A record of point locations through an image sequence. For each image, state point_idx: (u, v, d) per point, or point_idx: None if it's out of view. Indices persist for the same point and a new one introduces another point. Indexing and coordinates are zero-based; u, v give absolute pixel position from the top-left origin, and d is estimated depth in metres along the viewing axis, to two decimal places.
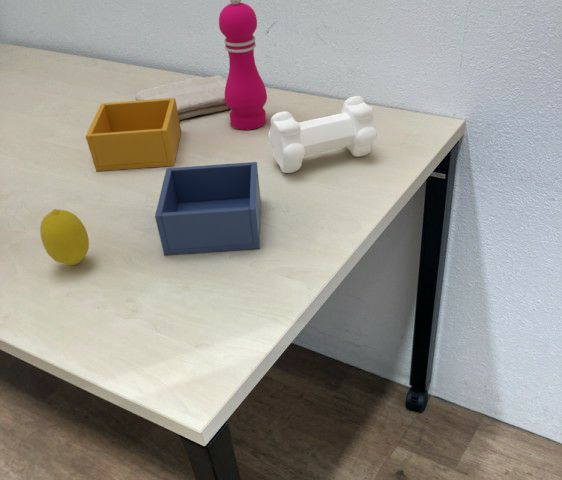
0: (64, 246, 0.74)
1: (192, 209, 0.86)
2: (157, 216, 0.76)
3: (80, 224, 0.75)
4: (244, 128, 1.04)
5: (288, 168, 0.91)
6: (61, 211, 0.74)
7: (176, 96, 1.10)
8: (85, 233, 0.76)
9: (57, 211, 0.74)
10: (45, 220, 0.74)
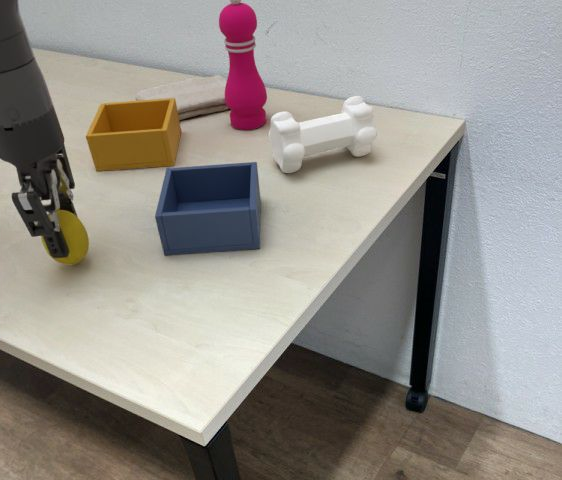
0: None
1: (192, 209, 0.86)
2: (157, 216, 0.76)
3: (80, 224, 0.75)
4: (244, 128, 1.04)
5: (288, 168, 0.91)
6: (61, 211, 0.74)
7: (176, 96, 1.10)
8: (85, 233, 0.76)
9: (57, 211, 0.74)
10: None
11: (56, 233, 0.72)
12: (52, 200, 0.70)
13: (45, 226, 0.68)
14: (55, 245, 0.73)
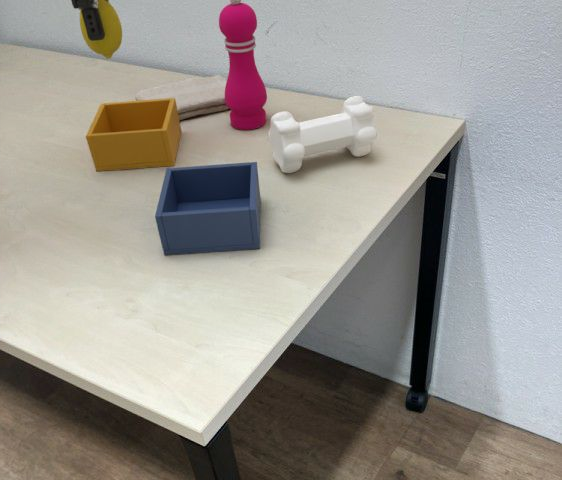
0: None
1: (192, 209, 0.86)
2: (157, 216, 0.76)
3: (115, 11, 0.84)
4: (244, 128, 1.04)
5: (288, 168, 0.91)
6: None
7: (176, 96, 1.10)
8: (119, 22, 0.85)
9: None
10: None
11: (94, 11, 0.80)
12: None
13: None
14: (93, 23, 0.81)
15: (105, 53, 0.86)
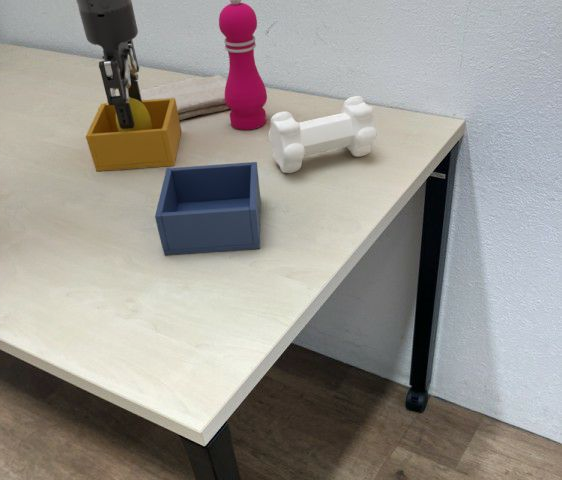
0: (134, 126, 0.96)
1: (192, 209, 0.86)
2: (157, 216, 0.76)
3: (146, 109, 0.97)
4: (244, 128, 1.04)
5: (288, 168, 0.91)
6: (132, 98, 0.96)
7: (176, 96, 1.10)
8: (149, 118, 0.98)
9: (130, 98, 0.95)
10: None
11: (126, 106, 0.92)
12: (126, 76, 0.90)
13: (120, 93, 0.88)
14: (125, 116, 0.92)
15: None
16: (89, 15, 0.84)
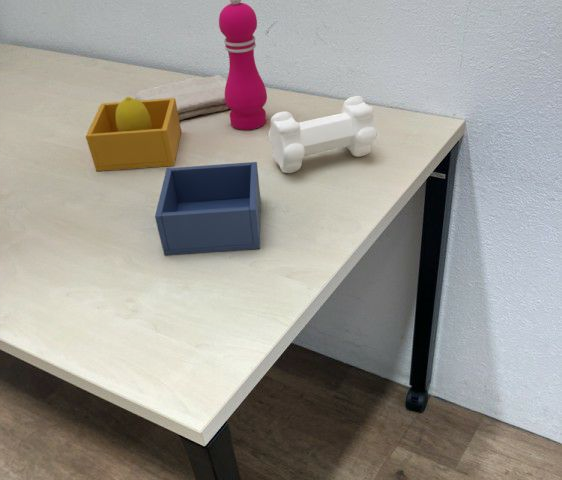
0: (134, 126, 0.96)
1: (192, 209, 0.86)
2: (157, 216, 0.76)
3: (146, 109, 0.97)
4: (244, 128, 1.04)
5: (288, 168, 0.91)
6: (132, 98, 0.96)
7: (176, 96, 1.10)
8: (149, 118, 0.98)
9: (129, 98, 0.95)
10: (120, 105, 0.96)
11: None
12: None
13: None
14: None
15: None
16: None
